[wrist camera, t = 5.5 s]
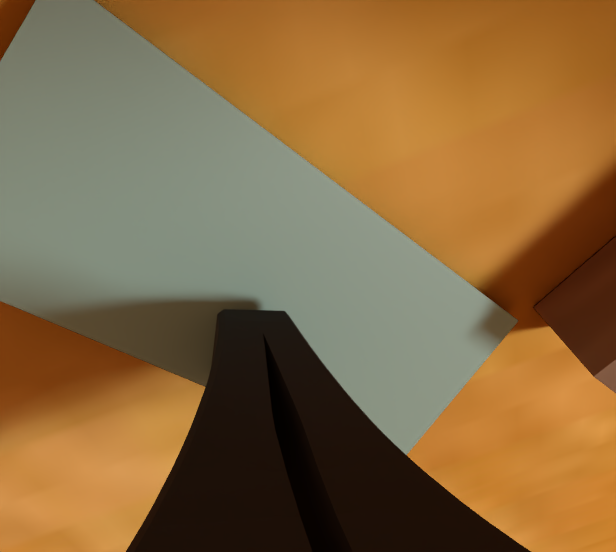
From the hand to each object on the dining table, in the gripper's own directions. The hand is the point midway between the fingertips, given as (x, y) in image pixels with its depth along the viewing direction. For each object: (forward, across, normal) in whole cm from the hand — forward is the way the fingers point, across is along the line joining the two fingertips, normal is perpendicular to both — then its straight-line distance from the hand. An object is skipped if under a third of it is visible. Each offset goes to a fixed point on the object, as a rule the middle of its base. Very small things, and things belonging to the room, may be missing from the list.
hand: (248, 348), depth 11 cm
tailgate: (+1, -2, -3) cm, 4 cm away
